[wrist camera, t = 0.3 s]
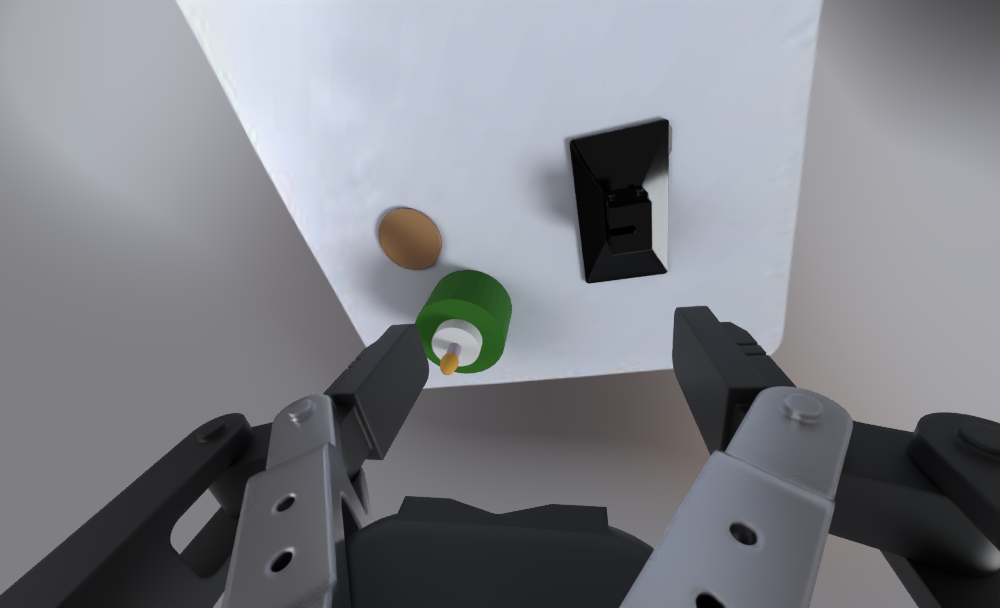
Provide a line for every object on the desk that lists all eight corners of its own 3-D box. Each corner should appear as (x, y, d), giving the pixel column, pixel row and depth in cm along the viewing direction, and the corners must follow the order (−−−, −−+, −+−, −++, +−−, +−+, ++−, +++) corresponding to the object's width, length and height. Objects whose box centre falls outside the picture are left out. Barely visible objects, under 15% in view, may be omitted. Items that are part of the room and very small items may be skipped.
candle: (425, 271, 35) (382, 330, 26) (507, 268, 33) (490, 330, 25) (440, 338, 39) (408, 408, 31) (514, 338, 38) (502, 411, 29)
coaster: (378, 202, 32) (376, 204, 31) (443, 214, 32) (442, 215, 31) (381, 262, 35) (380, 264, 35) (440, 273, 35) (439, 275, 34)
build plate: (568, 140, 27) (570, 148, 23) (671, 116, 25) (692, 121, 21) (585, 282, 33) (589, 308, 29) (669, 271, 31) (685, 297, 27)
